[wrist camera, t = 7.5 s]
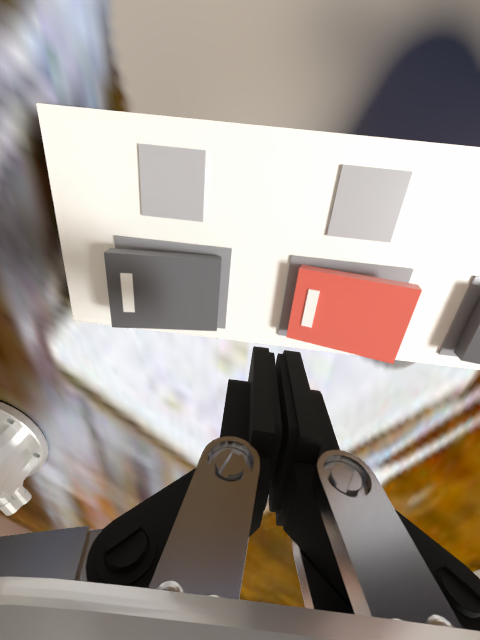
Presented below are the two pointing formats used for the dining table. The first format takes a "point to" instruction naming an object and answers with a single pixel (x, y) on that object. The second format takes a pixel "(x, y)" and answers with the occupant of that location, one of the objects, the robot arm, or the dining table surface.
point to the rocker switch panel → (268, 216)
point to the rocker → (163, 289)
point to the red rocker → (352, 312)
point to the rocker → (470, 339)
